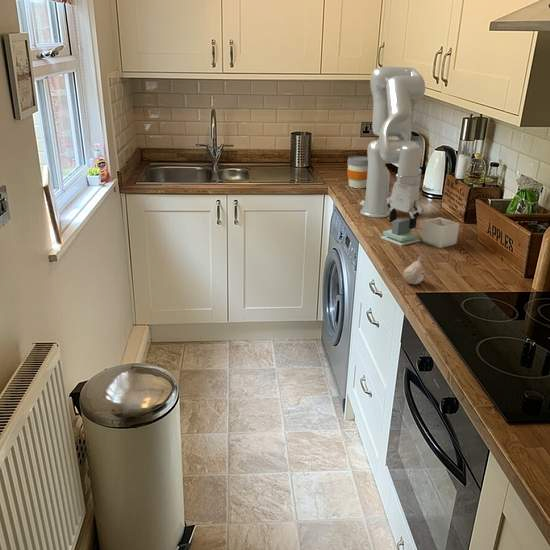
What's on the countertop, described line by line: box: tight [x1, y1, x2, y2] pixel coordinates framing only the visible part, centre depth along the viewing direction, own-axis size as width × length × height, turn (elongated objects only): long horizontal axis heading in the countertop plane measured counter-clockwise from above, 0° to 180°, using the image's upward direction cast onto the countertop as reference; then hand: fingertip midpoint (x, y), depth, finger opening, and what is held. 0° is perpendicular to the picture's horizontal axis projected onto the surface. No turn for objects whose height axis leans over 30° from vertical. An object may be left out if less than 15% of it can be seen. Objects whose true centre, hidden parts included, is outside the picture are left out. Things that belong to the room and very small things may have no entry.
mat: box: [380, 235, 421, 246], centre depth 211 cm, size 10×10×1 cm
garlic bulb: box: [402, 255, 425, 285], centre depth 170 cm, size 7×6×8 cm
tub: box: [420, 217, 460, 249], centre depth 207 cm, size 9×9×8 cm
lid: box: [382, 217, 420, 242], centre depth 209 cm, size 9×9×7 cm
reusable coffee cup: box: [346, 155, 368, 188], centre depth 286 cm, size 13×13×15 cm
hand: (402, 224), depth 209 cm, fingers open, 9 cm apart
